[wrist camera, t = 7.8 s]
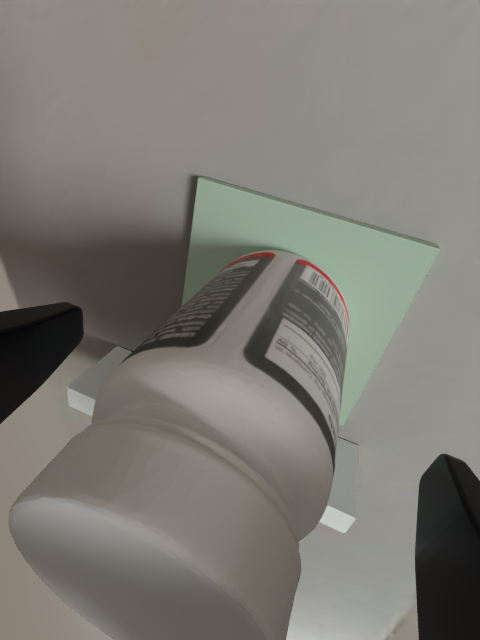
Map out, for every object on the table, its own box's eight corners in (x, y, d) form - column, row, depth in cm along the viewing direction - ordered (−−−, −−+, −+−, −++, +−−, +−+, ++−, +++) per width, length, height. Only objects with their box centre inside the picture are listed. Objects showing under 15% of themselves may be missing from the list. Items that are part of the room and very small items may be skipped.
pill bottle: (207, 353, 13) (20, 601, 6) (216, 232, 11) (-73, 419, 4) (330, 390, 12) (271, 741, 5) (371, 266, 10) (365, 614, 3)
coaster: (343, 418, 13) (342, 426, 13) (179, 352, 14) (174, 357, 14) (438, 244, 9) (440, 249, 9) (203, 176, 10) (198, 177, 10)
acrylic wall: (350, 461, 14) (344, 533, 11) (117, 362, 16) (68, 405, 13) (359, 446, 13) (356, 518, 11) (117, 345, 15) (67, 387, 13)
